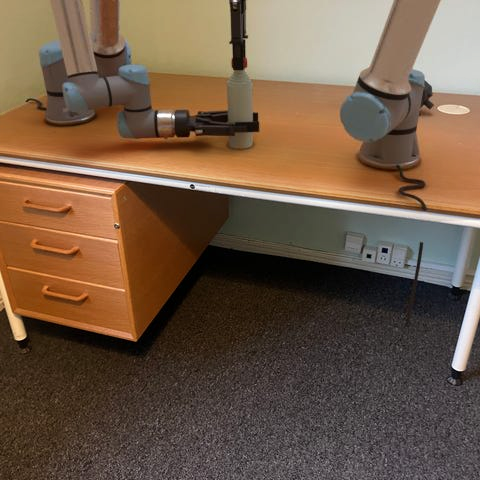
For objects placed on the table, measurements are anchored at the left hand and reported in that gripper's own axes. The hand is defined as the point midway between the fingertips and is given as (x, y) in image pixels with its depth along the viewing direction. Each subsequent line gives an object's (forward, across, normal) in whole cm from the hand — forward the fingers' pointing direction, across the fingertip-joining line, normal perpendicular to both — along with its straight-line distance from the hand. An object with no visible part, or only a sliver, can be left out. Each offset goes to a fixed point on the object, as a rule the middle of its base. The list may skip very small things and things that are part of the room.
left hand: (258, 122), depth 146 cm
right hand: (-5, 0, +15) cm, 16 cm away
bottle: (-5, 0, -6) cm, 8 cm away
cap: (-5, 0, +17) cm, 17 cm away
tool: (+47, -27, -6) cm, 55 cm away
